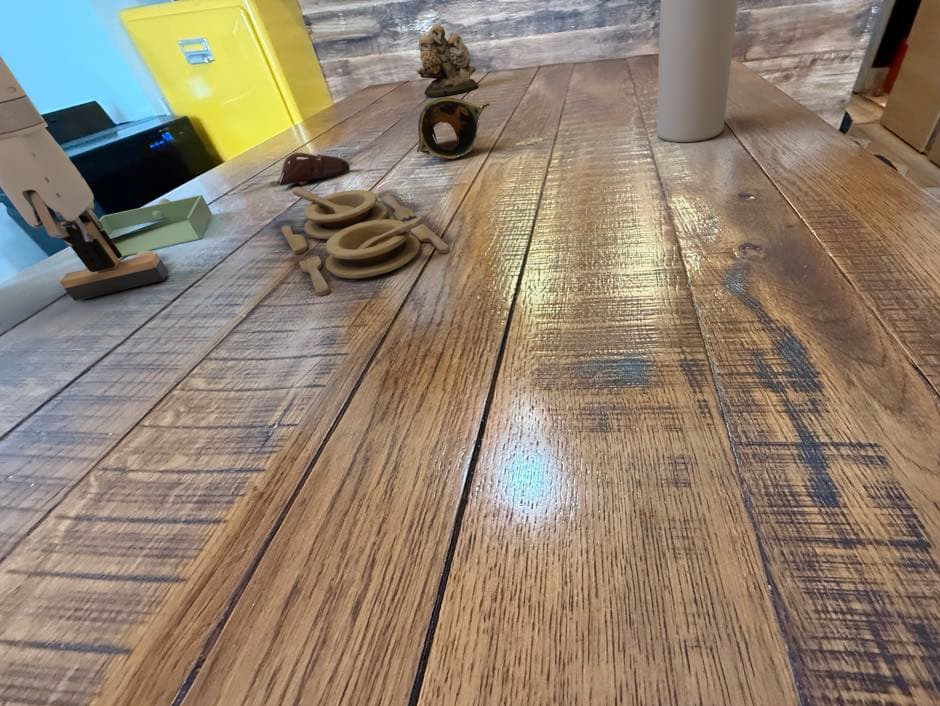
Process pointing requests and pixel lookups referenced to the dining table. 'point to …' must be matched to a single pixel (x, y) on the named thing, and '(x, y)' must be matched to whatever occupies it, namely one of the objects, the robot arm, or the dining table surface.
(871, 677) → the dining table surface
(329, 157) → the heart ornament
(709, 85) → the cylinder vase
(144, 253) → the ball
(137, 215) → the dustpan
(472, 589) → the dining table surface
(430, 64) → the owl figurine
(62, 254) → the dining table surface
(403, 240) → the tableware set
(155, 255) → the brush
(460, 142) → the pot
